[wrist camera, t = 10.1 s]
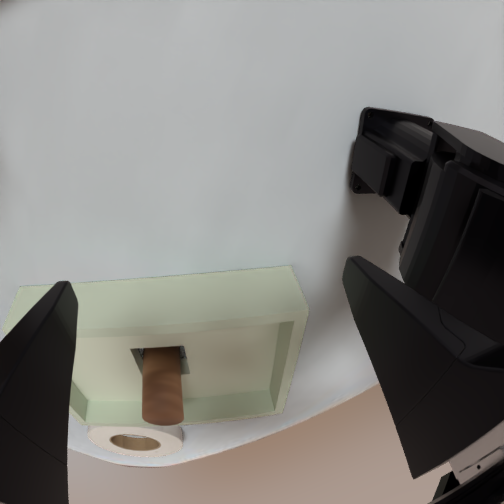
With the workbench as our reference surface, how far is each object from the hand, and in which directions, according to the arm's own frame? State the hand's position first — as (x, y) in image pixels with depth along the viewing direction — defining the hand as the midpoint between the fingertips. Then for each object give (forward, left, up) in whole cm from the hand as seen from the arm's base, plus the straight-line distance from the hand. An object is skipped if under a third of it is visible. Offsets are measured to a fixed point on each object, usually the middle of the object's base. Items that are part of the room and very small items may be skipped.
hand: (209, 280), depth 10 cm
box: (+5, +19, -12) cm, 23 cm away
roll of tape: (+14, +42, -13) cm, 46 cm away
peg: (+5, +19, -12) cm, 23 cm away
